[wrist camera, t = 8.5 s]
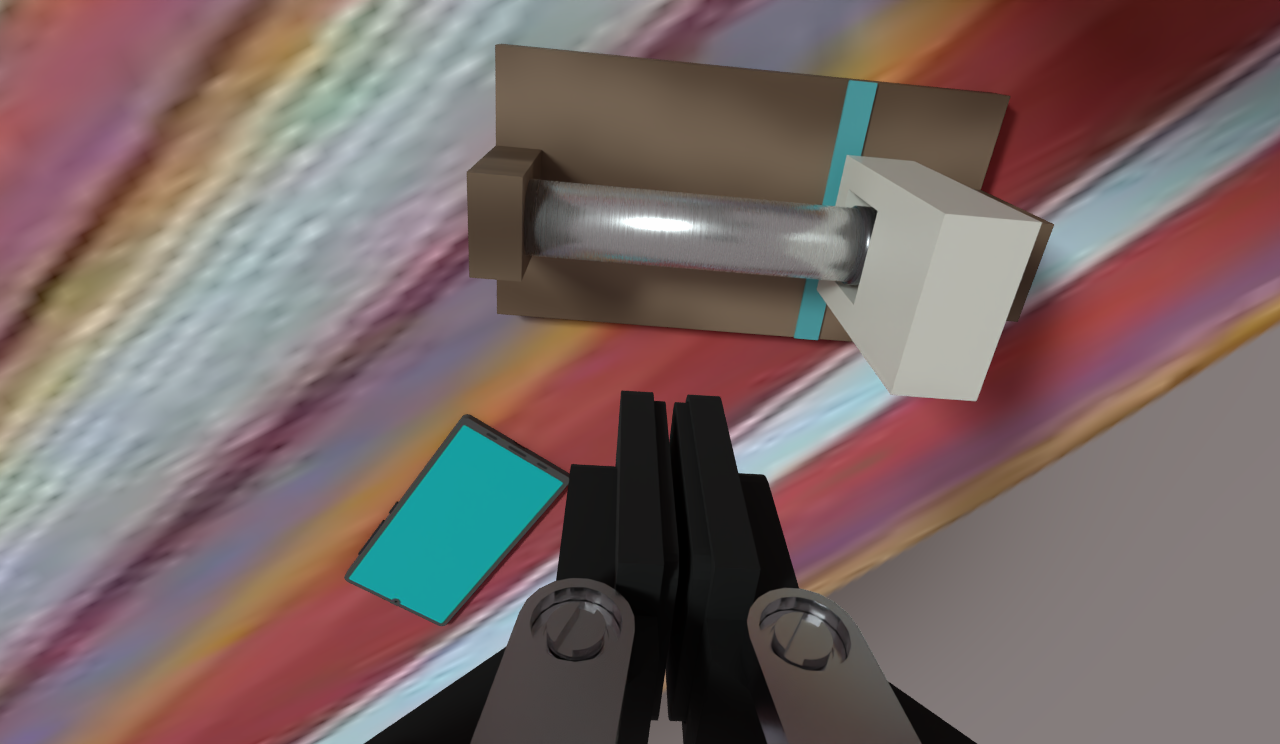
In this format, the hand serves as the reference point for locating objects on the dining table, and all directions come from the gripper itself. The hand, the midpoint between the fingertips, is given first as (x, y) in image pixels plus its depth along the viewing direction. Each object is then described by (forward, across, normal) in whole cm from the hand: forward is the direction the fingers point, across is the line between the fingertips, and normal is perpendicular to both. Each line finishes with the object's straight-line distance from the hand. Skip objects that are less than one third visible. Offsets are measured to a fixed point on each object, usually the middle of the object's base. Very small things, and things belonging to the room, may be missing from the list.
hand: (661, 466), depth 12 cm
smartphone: (+23, +10, +22) cm, 33 cm away
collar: (+20, -10, +1) cm, 23 cm away
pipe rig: (+23, -4, +1) cm, 23 cm away
